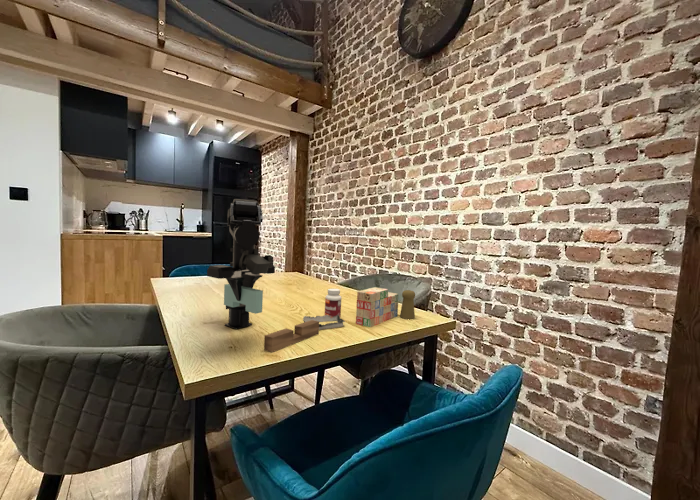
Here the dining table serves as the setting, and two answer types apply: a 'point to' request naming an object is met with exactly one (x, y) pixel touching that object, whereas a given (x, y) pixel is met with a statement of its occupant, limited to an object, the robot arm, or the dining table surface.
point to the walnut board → (290, 336)
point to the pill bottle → (333, 303)
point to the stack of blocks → (375, 306)
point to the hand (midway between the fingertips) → (242, 300)
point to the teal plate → (244, 298)
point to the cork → (408, 305)
